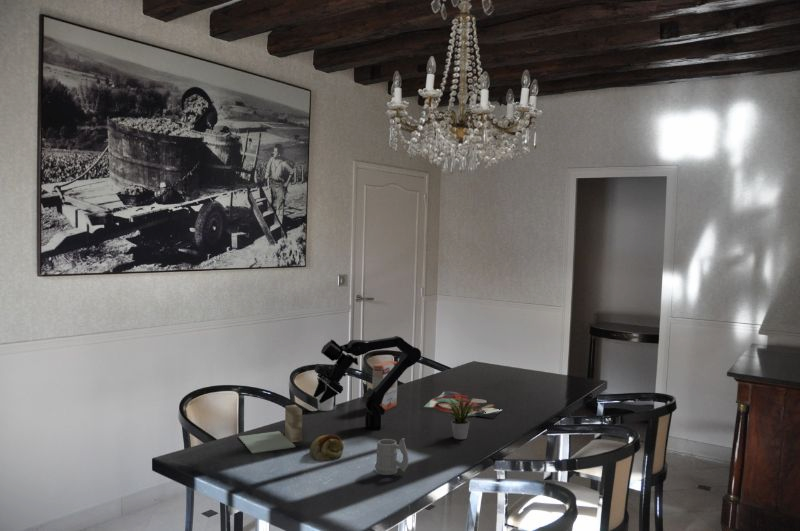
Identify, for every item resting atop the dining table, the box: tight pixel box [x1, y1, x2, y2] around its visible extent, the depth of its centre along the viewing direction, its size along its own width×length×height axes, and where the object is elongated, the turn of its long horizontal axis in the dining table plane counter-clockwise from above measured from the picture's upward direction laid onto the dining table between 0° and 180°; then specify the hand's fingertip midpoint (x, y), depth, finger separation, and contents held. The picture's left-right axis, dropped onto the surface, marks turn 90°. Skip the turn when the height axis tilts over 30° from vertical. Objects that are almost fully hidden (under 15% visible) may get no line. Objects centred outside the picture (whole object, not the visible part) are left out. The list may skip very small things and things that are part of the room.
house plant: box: [445, 396, 476, 440], centre depth 243 cm, size 14×14×16 cm
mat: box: [238, 430, 296, 454], centre depth 233 cm, size 16×20×1 cm
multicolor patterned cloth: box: [423, 390, 503, 420], centre depth 292 cm, size 35×35×2 cm
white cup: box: [316, 384, 335, 412], centre depth 281 cm, size 8×8×10 cm
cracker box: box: [371, 360, 398, 412], centre depth 284 cm, size 14×6×21 cm, turn 151°
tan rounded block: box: [284, 404, 303, 443], centre depth 238 cm, size 4×8×12 cm, turn 28°
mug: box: [374, 437, 409, 476], centre depth 204 cm, size 8×12×12 cm, turn 63°
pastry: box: [309, 433, 345, 462], centre depth 220 cm, size 14×12×8 cm
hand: (317, 399), depth 245 cm, fingers open, 9 cm apart
